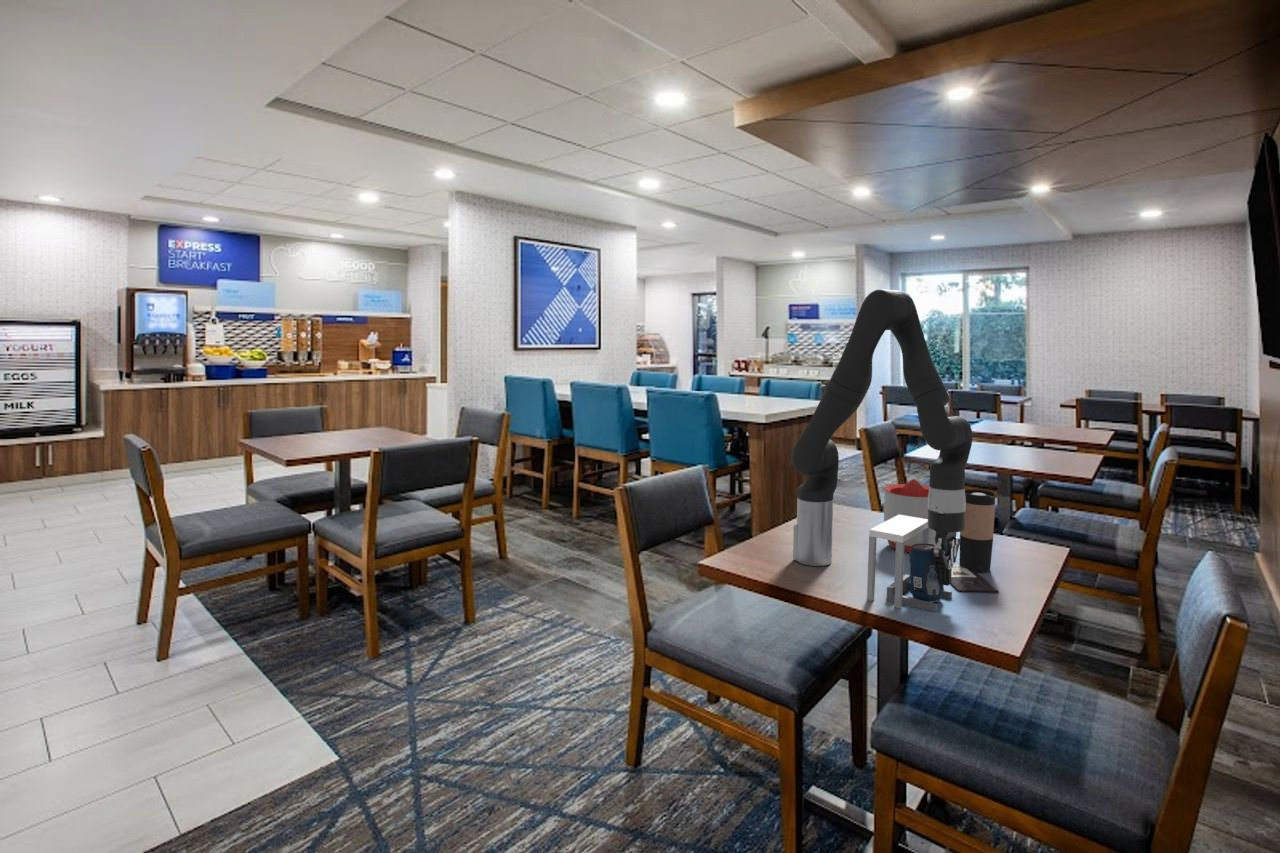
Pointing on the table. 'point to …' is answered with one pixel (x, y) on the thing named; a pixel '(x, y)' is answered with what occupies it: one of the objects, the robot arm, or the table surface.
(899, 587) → the overhang shelf
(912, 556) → the soda can
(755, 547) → the table surface
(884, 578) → the table surface
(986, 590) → the chocolate bar
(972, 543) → the travel mug
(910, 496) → the citrus juicer
